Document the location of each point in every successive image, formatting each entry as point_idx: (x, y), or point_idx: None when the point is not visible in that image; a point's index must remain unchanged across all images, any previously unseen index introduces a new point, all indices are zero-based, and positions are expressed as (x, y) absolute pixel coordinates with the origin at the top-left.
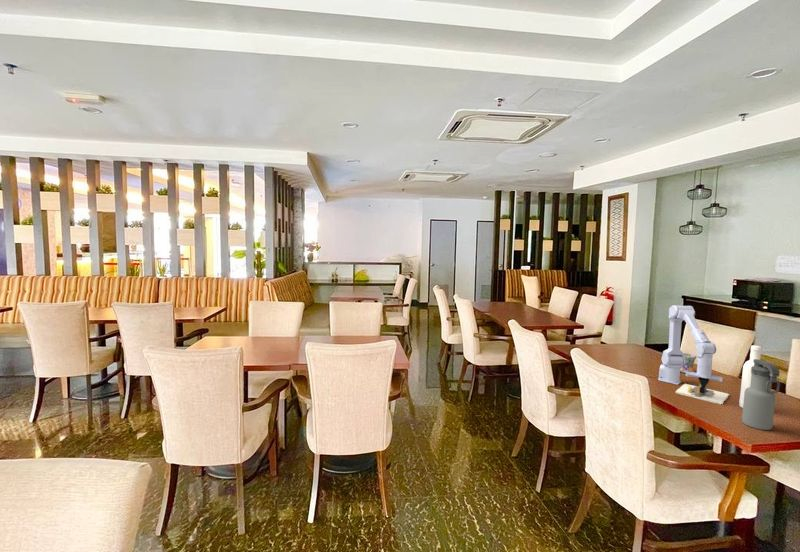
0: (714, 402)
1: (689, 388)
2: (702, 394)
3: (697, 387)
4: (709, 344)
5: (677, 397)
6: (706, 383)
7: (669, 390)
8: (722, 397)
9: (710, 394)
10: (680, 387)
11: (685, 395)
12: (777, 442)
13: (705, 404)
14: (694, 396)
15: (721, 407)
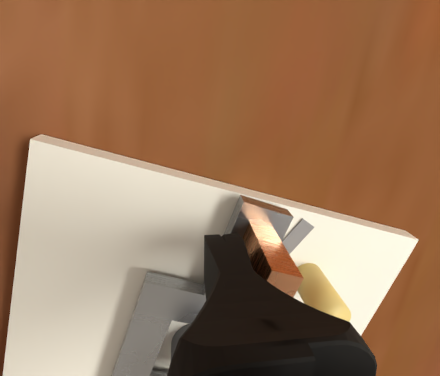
0: (110, 154)
1: (334, 294)
2: None
3: (296, 273)
4: None
5: (431, 105)
6: (211, 319)
7: (430, 268)
8: (38, 319)
9: (138, 298)
10: None
11: (340, 213)
12: None
13: (203, 28)
14: (280, 201)
15: (41, 21)
